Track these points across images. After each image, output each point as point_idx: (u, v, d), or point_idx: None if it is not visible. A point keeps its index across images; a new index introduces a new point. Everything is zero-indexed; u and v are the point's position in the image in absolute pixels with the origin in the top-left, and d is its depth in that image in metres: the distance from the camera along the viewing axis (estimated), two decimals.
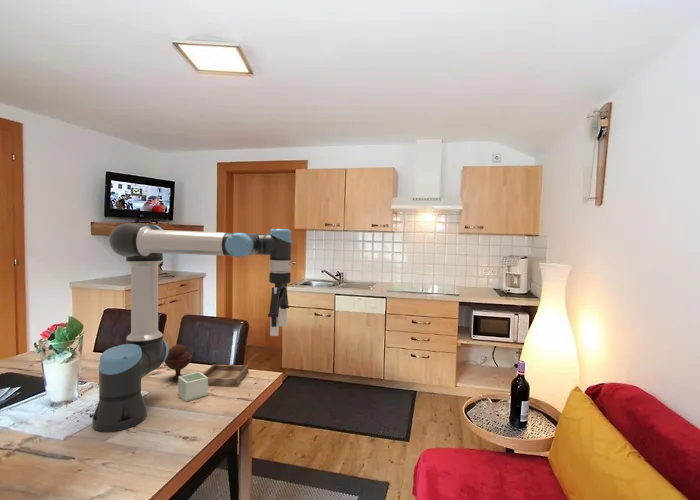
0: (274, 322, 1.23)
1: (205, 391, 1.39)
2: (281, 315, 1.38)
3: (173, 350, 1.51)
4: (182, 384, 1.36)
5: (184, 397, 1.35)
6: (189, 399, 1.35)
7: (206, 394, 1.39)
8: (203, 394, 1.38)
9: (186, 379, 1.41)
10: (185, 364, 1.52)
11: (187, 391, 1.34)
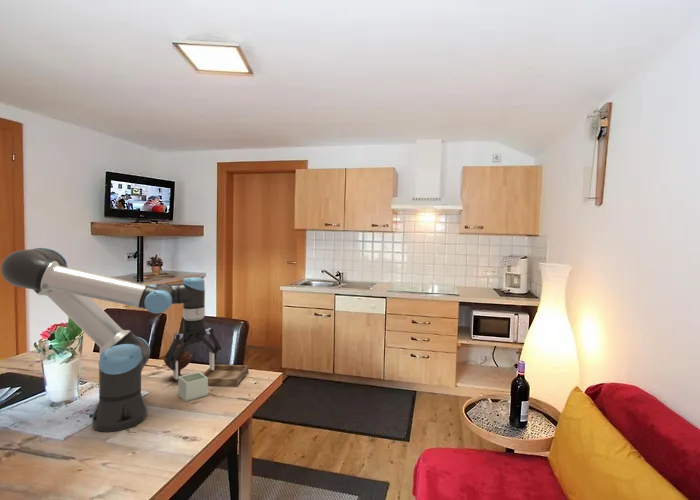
0: (171, 366, 1.33)
1: (205, 391, 1.39)
2: (210, 358, 1.44)
3: None
4: (182, 384, 1.36)
5: (184, 397, 1.35)
6: (189, 399, 1.35)
7: (206, 394, 1.39)
8: (203, 394, 1.38)
9: (186, 379, 1.41)
10: (185, 364, 1.52)
11: (187, 391, 1.34)
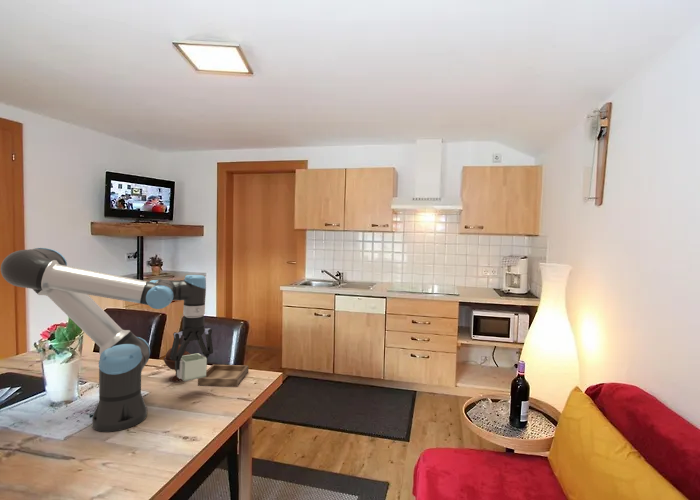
0: (176, 365, 1.35)
1: (204, 372, 1.38)
2: None
3: None
4: None
5: (182, 377, 1.35)
6: (187, 379, 1.34)
7: (205, 375, 1.39)
8: (202, 375, 1.38)
9: (185, 360, 1.41)
10: None
11: (186, 371, 1.34)
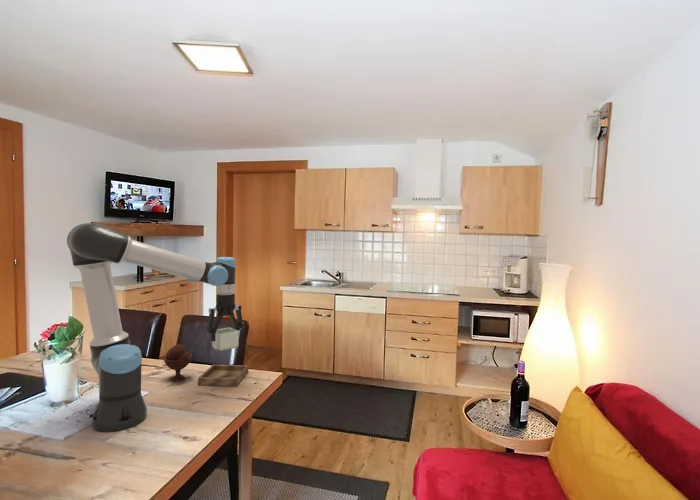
0: (212, 337, 1.52)
1: (236, 343, 1.55)
2: None
3: (173, 350, 1.51)
4: None
5: (218, 347, 1.52)
6: (223, 349, 1.51)
7: (237, 346, 1.56)
8: (234, 345, 1.55)
9: (219, 333, 1.58)
10: (185, 364, 1.52)
11: (221, 341, 1.51)
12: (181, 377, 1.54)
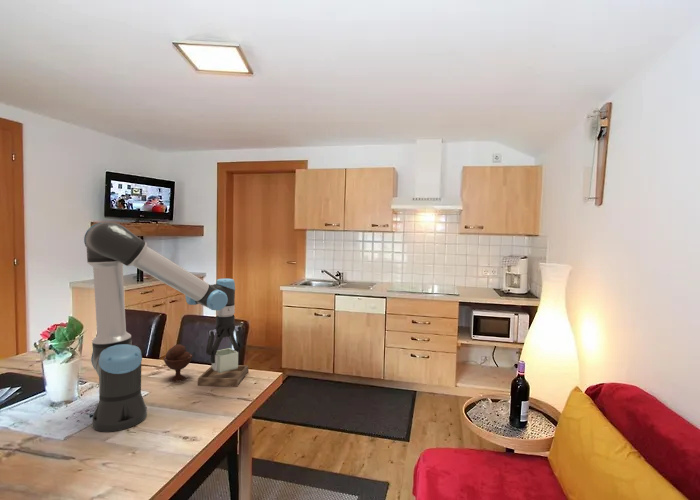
0: (211, 359, 1.52)
1: (236, 364, 1.56)
2: None
3: (173, 350, 1.51)
4: None
5: (218, 369, 1.52)
6: (222, 371, 1.52)
7: (237, 367, 1.56)
8: (234, 367, 1.55)
9: (218, 354, 1.58)
10: (185, 364, 1.52)
11: (221, 364, 1.51)
12: (181, 377, 1.54)
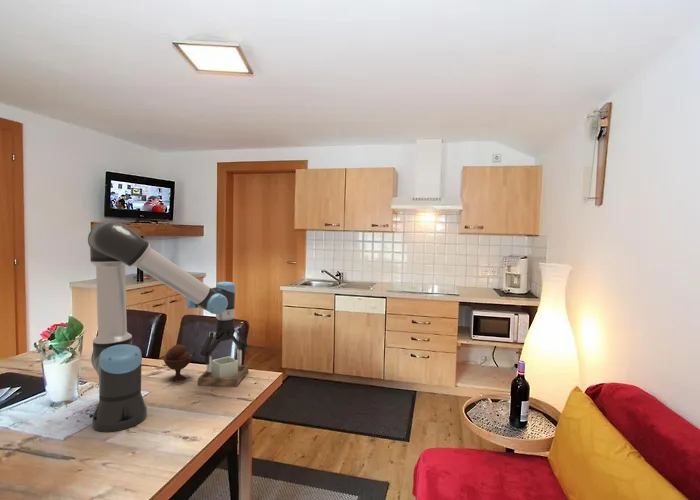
0: (205, 360, 1.50)
1: (235, 373, 1.56)
2: (237, 354, 1.61)
3: (173, 350, 1.51)
4: (216, 366, 1.53)
5: None
6: None
7: (236, 376, 1.56)
8: (234, 375, 1.55)
9: (218, 362, 1.58)
10: (185, 364, 1.52)
11: (220, 372, 1.51)
12: (181, 377, 1.54)
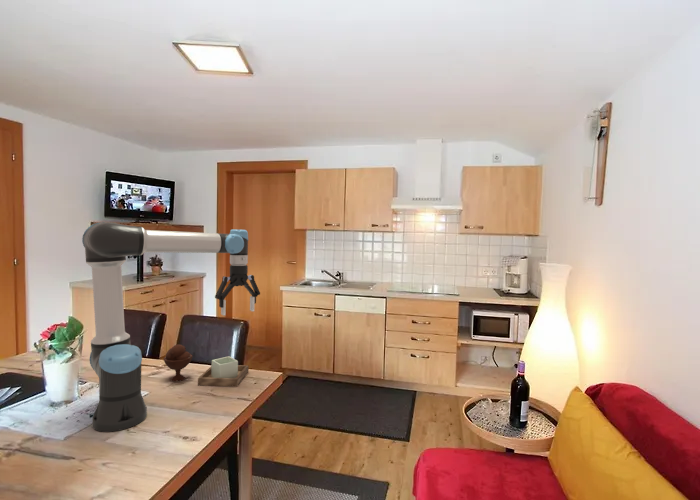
0: (220, 304, 1.55)
1: (235, 373, 1.56)
2: (250, 301, 1.65)
3: (173, 350, 1.51)
4: (216, 366, 1.53)
5: None
6: None
7: (236, 376, 1.56)
8: (234, 375, 1.55)
9: (218, 362, 1.58)
10: (185, 364, 1.52)
11: (220, 372, 1.51)
12: (181, 377, 1.54)
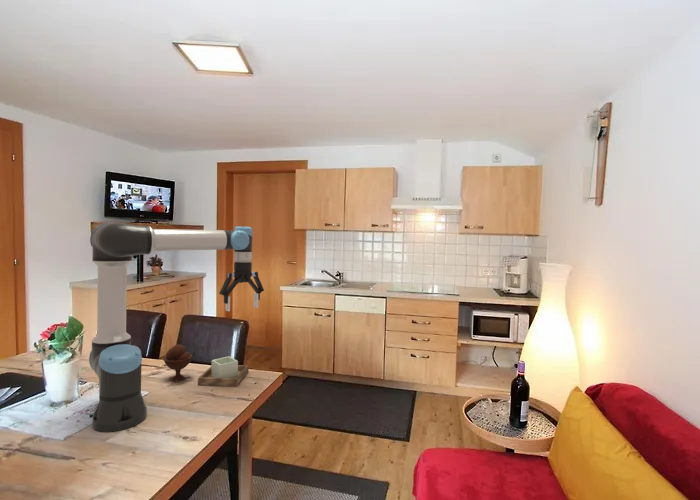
0: (224, 300, 1.56)
1: (235, 373, 1.56)
2: (254, 298, 1.67)
3: (173, 350, 1.51)
4: (216, 366, 1.53)
5: None
6: None
7: (236, 376, 1.56)
8: (234, 375, 1.55)
9: (218, 362, 1.58)
10: (185, 364, 1.52)
11: (220, 372, 1.51)
12: (181, 377, 1.54)
